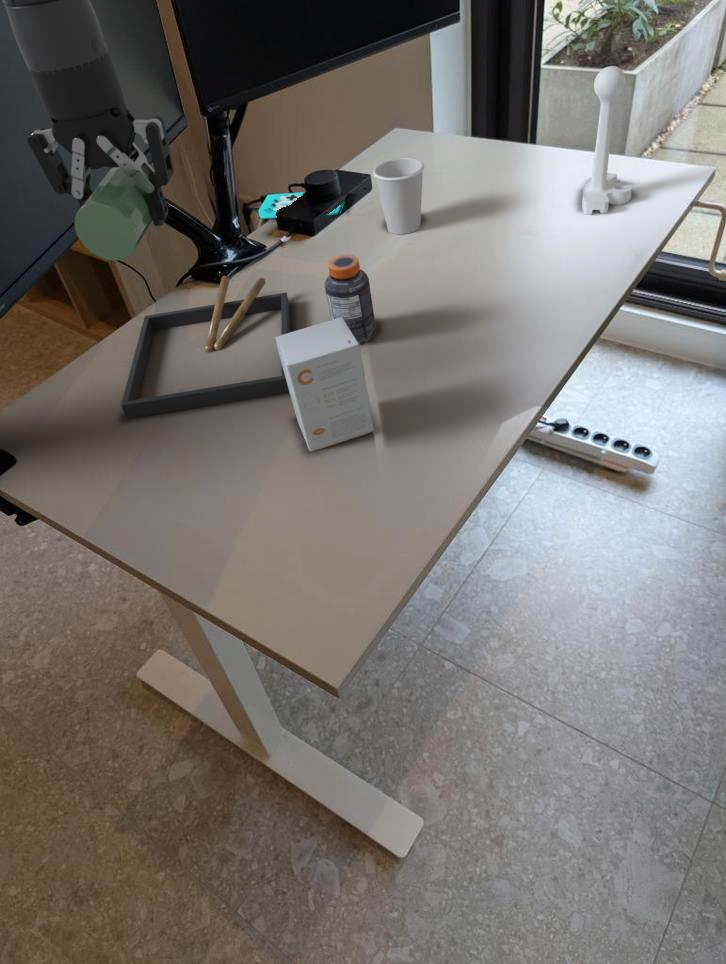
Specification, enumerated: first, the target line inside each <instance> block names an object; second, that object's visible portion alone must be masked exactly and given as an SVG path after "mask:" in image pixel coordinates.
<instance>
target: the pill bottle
mask: <svg viewBox="0 0 726 964" xmlns="http://www.w3.org/2000/svg"><path fill="white" fill-rule="evenodd" d="M327 265H328V266H327V267H328V274H329V275H328V276H327V277H326V279H325V281H324V290H325V296H326V301H327V306H328V311H329V314H330V320H333V319H336V318H339V317H342V318H343V320H344V321H345V323H346V324H347V326H348V328H349V329H350V331H351V332H352V334H353V336H354V337H355V339H356V340H357V342H358V343H359V345H360V346H361V345H364V344H366V343H368V342H370V341H372V339H373V338H374V337H375V336H376V334H377V325H376V318H375V311H374V306H373V305H374V304H373V298H372V292H371V286H370V279H369V276H368V274H367V273H366V272H365V271H364V270H362V269H361V265H360V261H359V258H358V257H357V256H356V255H353V254H341V255H337V256H335V257H333V258H331V260H329V262H328V264H327Z"/></svg>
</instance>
